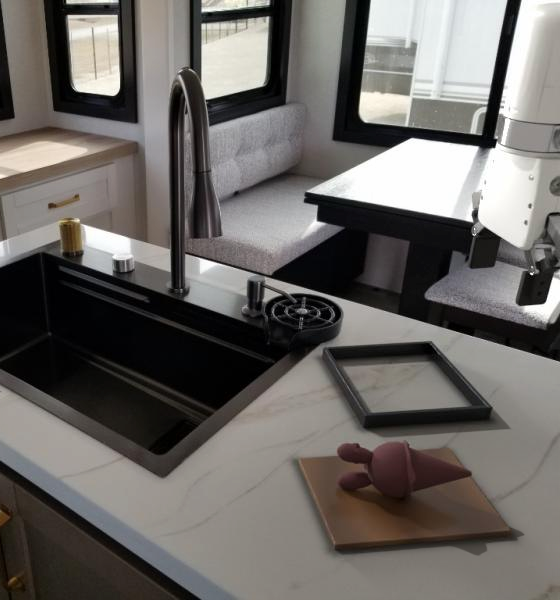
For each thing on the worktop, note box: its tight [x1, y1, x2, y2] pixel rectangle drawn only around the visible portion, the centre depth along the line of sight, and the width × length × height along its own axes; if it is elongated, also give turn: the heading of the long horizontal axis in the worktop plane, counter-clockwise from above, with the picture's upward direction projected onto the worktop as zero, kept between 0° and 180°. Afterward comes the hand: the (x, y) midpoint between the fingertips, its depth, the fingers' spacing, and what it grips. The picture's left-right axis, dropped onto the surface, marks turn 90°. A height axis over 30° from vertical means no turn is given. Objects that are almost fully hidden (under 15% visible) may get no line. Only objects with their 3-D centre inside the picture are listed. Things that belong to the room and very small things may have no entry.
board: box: [297, 447, 511, 551], centre depth 76 cm, size 20×14×1 cm
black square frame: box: [321, 340, 493, 429], centre depth 96 cm, size 18×18×2 cm
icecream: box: [336, 439, 473, 501], centre depth 75 cm, size 7×7×15 cm
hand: (503, 284), depth 73 cm, fingers open, 9 cm apart
